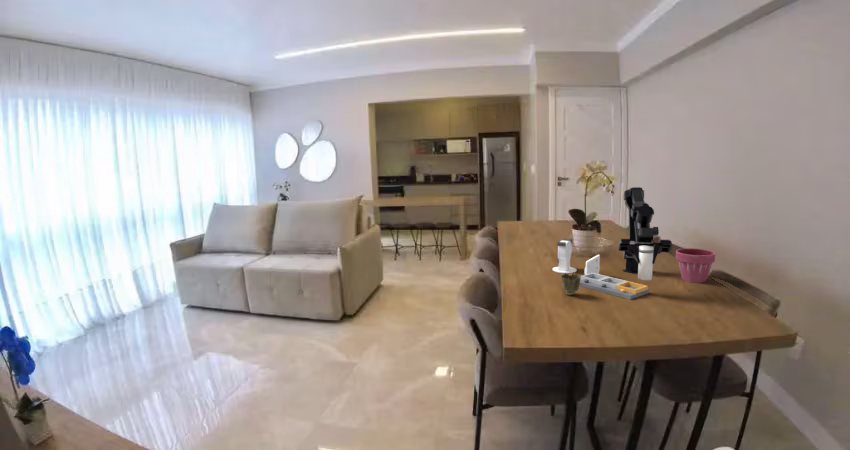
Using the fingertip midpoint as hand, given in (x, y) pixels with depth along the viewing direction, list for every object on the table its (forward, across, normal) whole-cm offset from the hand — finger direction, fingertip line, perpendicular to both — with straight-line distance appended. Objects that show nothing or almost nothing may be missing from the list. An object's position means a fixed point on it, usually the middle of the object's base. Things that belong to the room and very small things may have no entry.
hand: (646, 263), depth 162 cm
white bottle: (+4, 0, +6) cm, 7 cm away
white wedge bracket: (-8, -19, +27) cm, 34 cm away
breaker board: (+5, -12, +13) cm, 19 cm away
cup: (+14, -28, +5) cm, 32 cm away
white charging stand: (-13, -31, +32) cm, 46 cm away
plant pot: (-9, +23, +28) cm, 37 cm away
